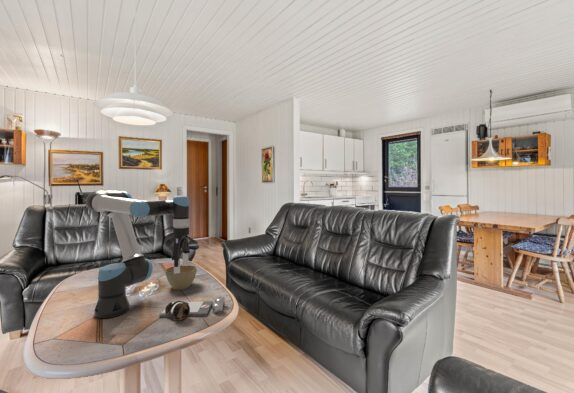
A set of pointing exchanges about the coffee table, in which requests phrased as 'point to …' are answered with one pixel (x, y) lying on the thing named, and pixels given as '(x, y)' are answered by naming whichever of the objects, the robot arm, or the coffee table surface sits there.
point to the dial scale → (193, 309)
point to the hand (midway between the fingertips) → (181, 269)
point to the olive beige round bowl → (181, 277)
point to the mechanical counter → (178, 310)
